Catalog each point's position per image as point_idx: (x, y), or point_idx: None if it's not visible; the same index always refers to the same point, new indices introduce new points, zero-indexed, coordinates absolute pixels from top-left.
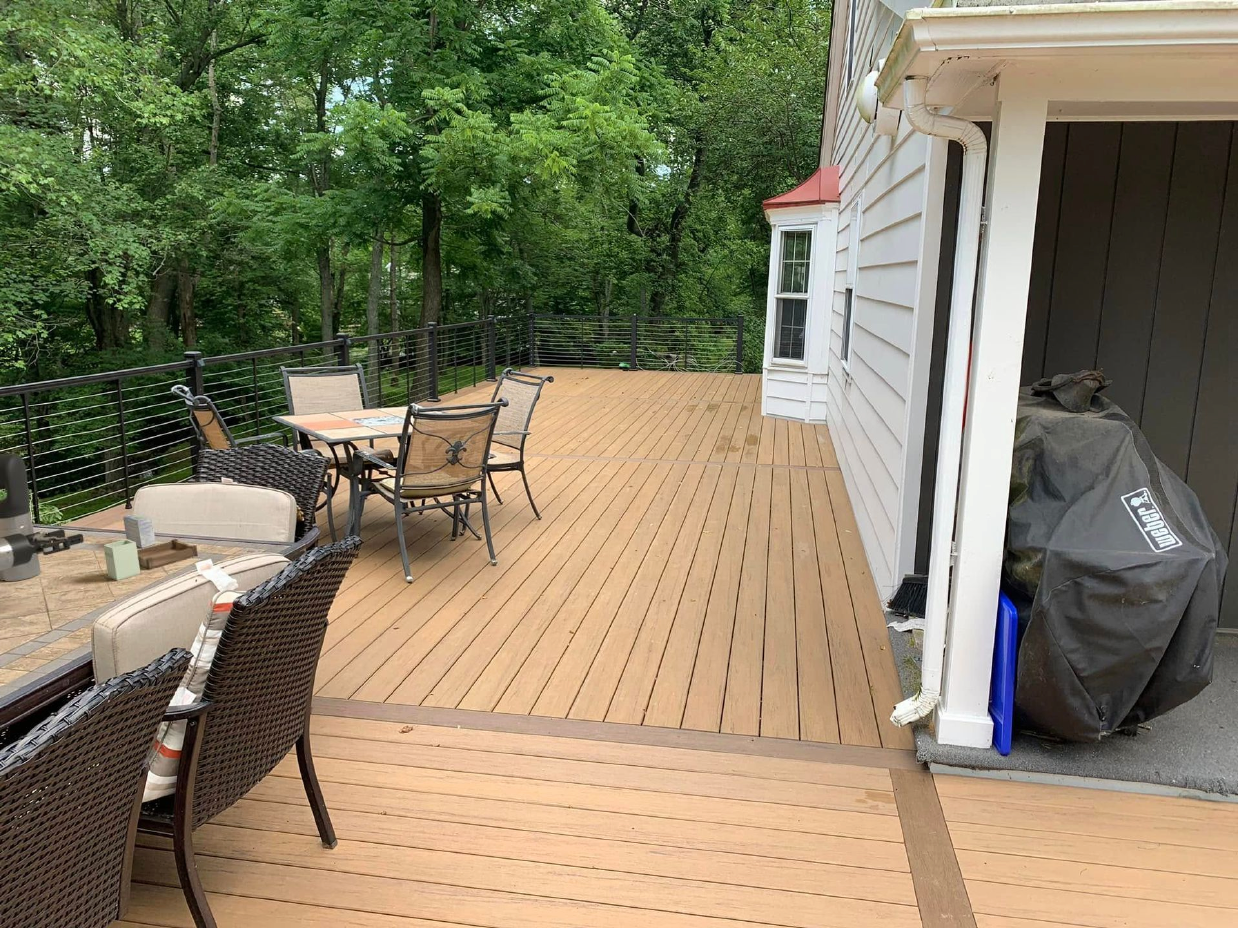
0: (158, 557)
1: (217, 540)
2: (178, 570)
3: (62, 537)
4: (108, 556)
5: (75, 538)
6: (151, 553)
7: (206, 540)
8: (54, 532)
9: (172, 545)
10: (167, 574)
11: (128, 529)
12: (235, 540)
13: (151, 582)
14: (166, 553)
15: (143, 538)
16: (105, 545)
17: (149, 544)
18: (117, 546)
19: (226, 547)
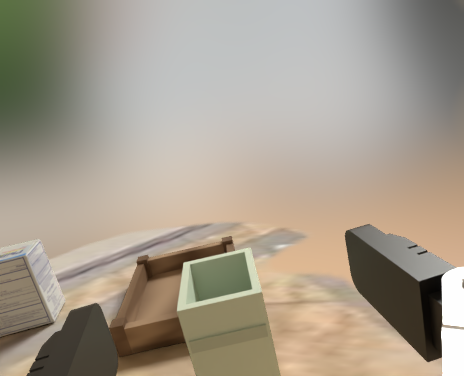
0: None
1: (173, 238)
2: (315, 284)
3: (114, 366)
4: (227, 343)
5: (431, 258)
6: (138, 307)
7: (153, 247)
8: (81, 356)
9: (146, 272)
10: (332, 302)
11: None
12: (203, 224)
13: (388, 335)
14: (168, 288)
15: (48, 297)
16: (193, 307)
17: (60, 307)
18: (252, 280)
19: (229, 231)
